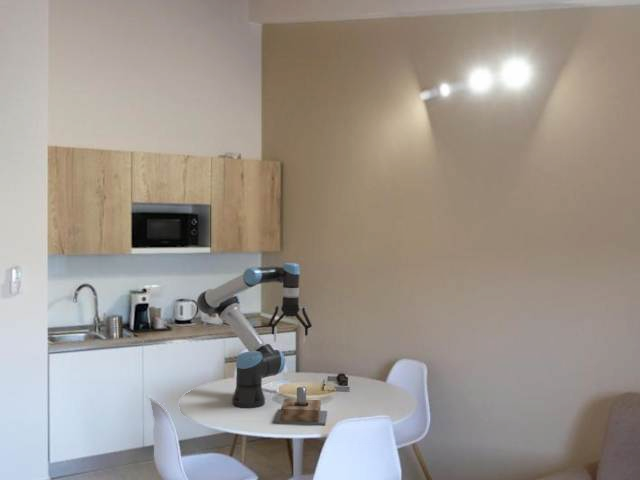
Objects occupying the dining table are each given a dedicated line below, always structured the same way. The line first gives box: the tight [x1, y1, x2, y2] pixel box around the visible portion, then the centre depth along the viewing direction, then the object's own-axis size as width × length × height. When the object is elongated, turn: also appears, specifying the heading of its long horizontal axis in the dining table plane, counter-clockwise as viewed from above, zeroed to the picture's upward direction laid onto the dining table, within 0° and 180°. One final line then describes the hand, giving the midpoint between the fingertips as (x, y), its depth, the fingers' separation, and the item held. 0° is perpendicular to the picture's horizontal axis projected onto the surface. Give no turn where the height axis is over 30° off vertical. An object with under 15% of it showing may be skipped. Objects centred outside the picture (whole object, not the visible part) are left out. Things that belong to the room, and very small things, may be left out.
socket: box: [272, 398, 328, 426], centre depth 292 cm, size 22×18×6 cm
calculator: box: [261, 379, 295, 394], centre depth 344 cm, size 13×20×2 cm, turn 148°
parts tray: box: [323, 375, 351, 392], centre depth 351 cm, size 13×22×2 cm, turn 177°
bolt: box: [336, 372, 348, 386], centre depth 351 cm, size 6×5×15 cm
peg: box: [296, 386, 307, 406], centre depth 292 cm, size 4×4×12 cm
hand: (289, 341), depth 315 cm, fingers open, 13 cm apart
